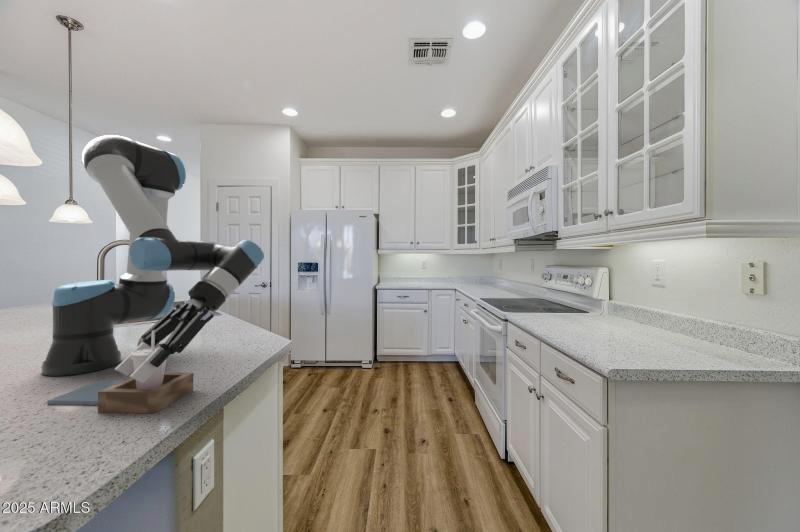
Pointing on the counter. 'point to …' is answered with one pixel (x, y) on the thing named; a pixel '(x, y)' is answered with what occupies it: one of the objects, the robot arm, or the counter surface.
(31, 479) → the counter surface
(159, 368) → the smoothie
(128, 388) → the collar
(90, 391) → the coaster
